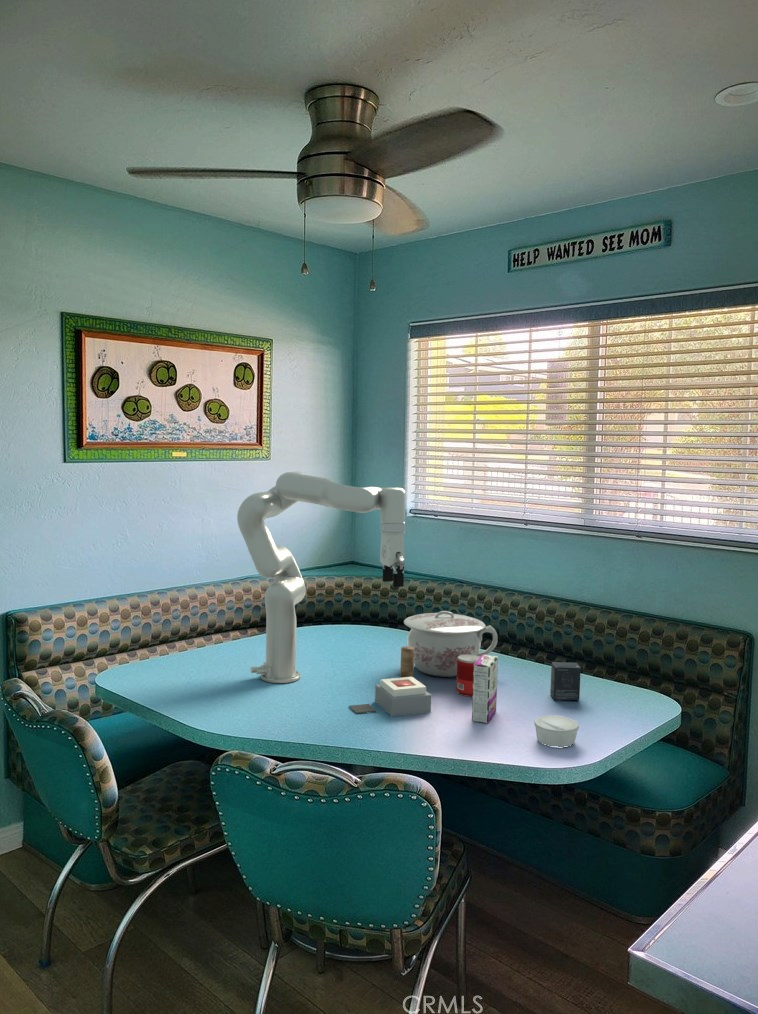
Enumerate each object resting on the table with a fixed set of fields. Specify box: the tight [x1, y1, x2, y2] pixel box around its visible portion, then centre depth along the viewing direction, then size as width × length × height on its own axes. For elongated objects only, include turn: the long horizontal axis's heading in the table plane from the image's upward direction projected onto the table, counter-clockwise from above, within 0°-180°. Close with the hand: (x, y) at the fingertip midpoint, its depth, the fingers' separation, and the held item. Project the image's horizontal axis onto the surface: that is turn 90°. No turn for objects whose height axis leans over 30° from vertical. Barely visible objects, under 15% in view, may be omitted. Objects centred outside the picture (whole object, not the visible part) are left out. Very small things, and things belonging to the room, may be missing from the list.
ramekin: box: [534, 714, 580, 747], centre depth 204 cm, size 11×11×5 cm
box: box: [549, 661, 582, 701], centre depth 239 cm, size 8×6×11 cm
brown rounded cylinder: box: [399, 645, 415, 678], centre depth 239 cm, size 4×4×14 cm
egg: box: [395, 681, 411, 687], centre depth 227 cm, size 5×5×4 cm
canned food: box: [455, 654, 480, 697], centre depth 241 cm, size 8×8×11 cm
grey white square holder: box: [374, 676, 432, 717], centre depth 227 cm, size 12×13×7 cm
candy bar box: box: [471, 654, 499, 725], centre depth 220 cm, size 11×5×16 cm, turn 160°
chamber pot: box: [403, 610, 499, 678], centre depth 262 cm, size 28×28×21 cm
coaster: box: [348, 703, 377, 715], centre depth 223 cm, size 6×6×1 cm
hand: (393, 583), depth 239 cm, fingers open, 9 cm apart
